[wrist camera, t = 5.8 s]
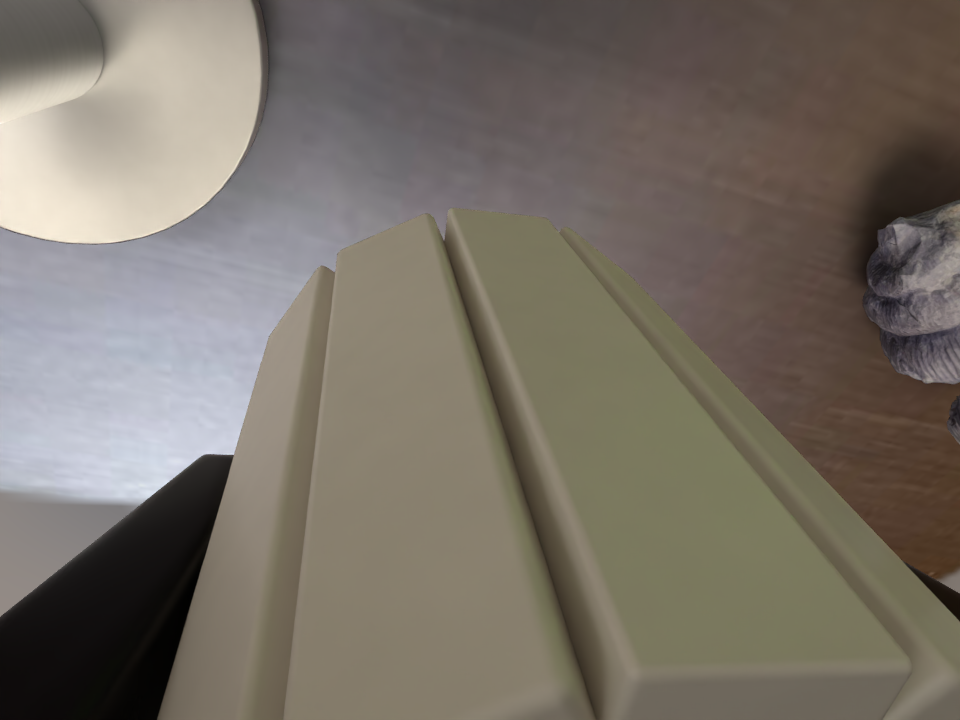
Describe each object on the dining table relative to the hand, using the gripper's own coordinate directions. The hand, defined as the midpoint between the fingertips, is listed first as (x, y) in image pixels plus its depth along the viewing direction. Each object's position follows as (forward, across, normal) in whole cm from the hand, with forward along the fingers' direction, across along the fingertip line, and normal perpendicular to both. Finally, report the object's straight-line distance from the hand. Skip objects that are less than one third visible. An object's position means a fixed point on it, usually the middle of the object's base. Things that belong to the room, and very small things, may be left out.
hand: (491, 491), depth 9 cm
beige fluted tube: (+2, 0, 0) cm, 2 cm away
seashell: (+12, -16, +1) cm, 20 cm away
